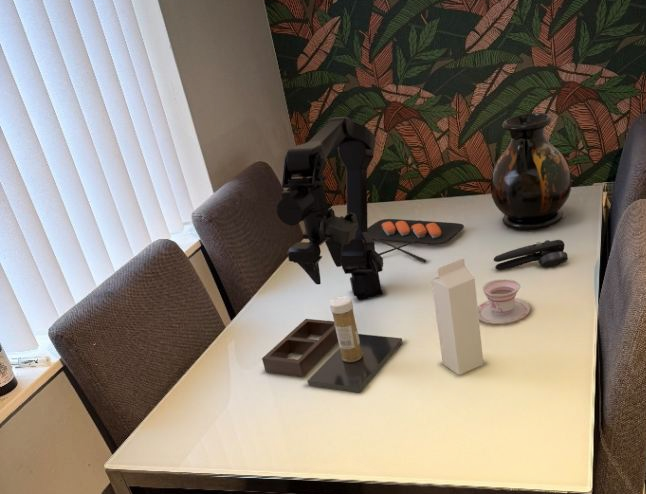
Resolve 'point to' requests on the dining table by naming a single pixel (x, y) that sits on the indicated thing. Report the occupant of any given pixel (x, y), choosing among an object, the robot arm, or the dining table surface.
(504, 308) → the teacup
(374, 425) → the dining table surface
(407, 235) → the sushi plate
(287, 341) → the spice rack
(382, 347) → the slate board
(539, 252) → the can opener
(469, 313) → the milk
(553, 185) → the dark ceramic vase
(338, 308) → the sprinkles bottle
